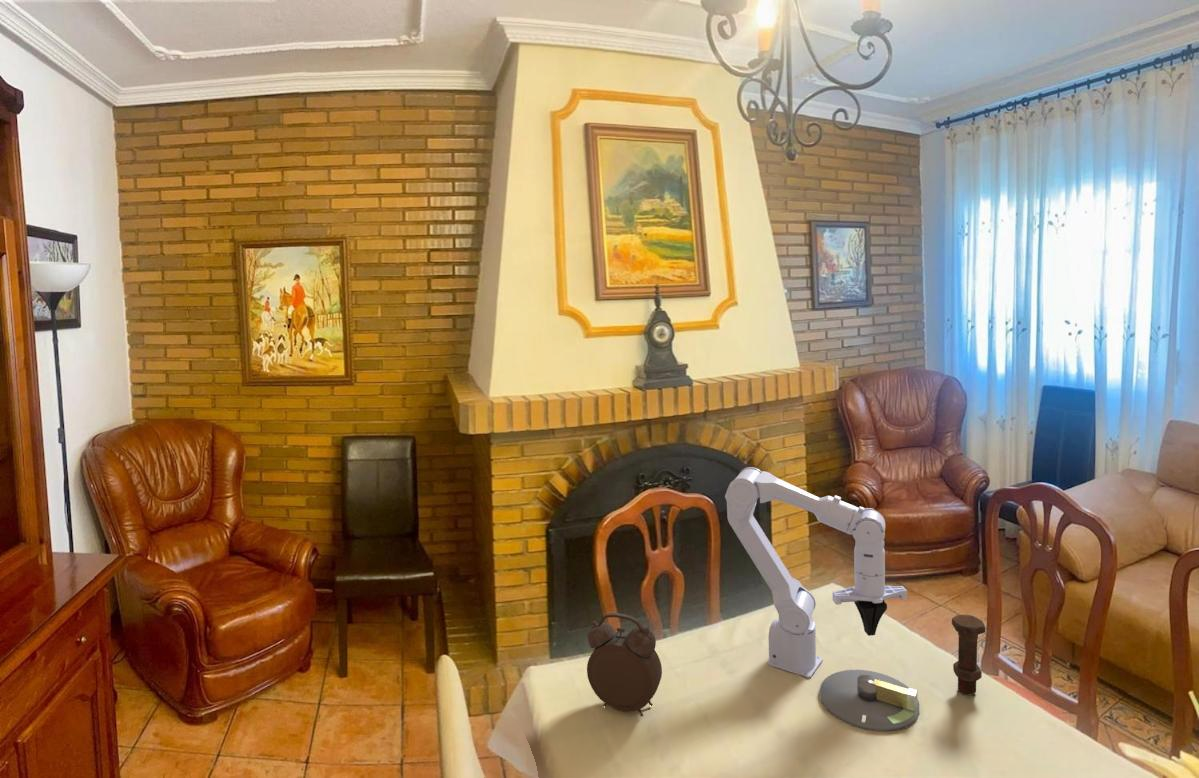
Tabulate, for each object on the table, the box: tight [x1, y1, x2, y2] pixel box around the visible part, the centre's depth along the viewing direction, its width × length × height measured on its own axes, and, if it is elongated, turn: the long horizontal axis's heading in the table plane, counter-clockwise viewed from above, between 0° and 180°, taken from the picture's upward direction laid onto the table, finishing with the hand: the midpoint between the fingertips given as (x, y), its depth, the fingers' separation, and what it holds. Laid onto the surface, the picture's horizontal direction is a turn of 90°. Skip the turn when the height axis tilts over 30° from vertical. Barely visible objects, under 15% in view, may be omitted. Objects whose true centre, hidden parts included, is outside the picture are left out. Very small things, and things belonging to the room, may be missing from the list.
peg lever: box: [857, 675, 918, 712], centre depth 126 cm, size 11×4×3 cm, turn 52°
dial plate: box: [819, 669, 920, 733], centre depth 129 cm, size 18×18×1 cm
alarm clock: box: [586, 612, 663, 717], centre depth 130 cm, size 14×7×20 cm, turn 65°
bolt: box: [951, 614, 986, 695], centre depth 128 cm, size 6×5×15 cm
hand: (869, 633), depth 135 cm, fingers closed
